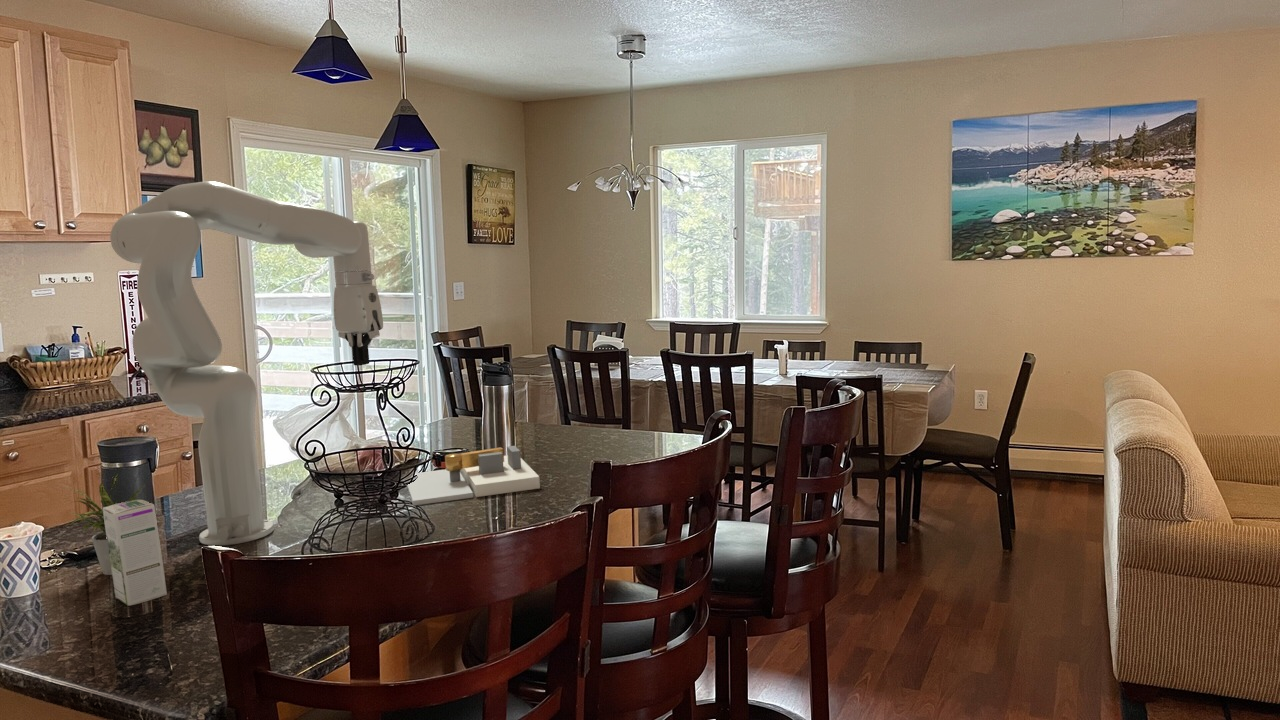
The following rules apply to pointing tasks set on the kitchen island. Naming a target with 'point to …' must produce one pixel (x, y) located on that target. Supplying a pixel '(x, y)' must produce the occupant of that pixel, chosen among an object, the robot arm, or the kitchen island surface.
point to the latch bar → (467, 459)
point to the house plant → (100, 526)
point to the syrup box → (134, 551)
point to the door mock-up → (475, 479)
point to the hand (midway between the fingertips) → (361, 364)
